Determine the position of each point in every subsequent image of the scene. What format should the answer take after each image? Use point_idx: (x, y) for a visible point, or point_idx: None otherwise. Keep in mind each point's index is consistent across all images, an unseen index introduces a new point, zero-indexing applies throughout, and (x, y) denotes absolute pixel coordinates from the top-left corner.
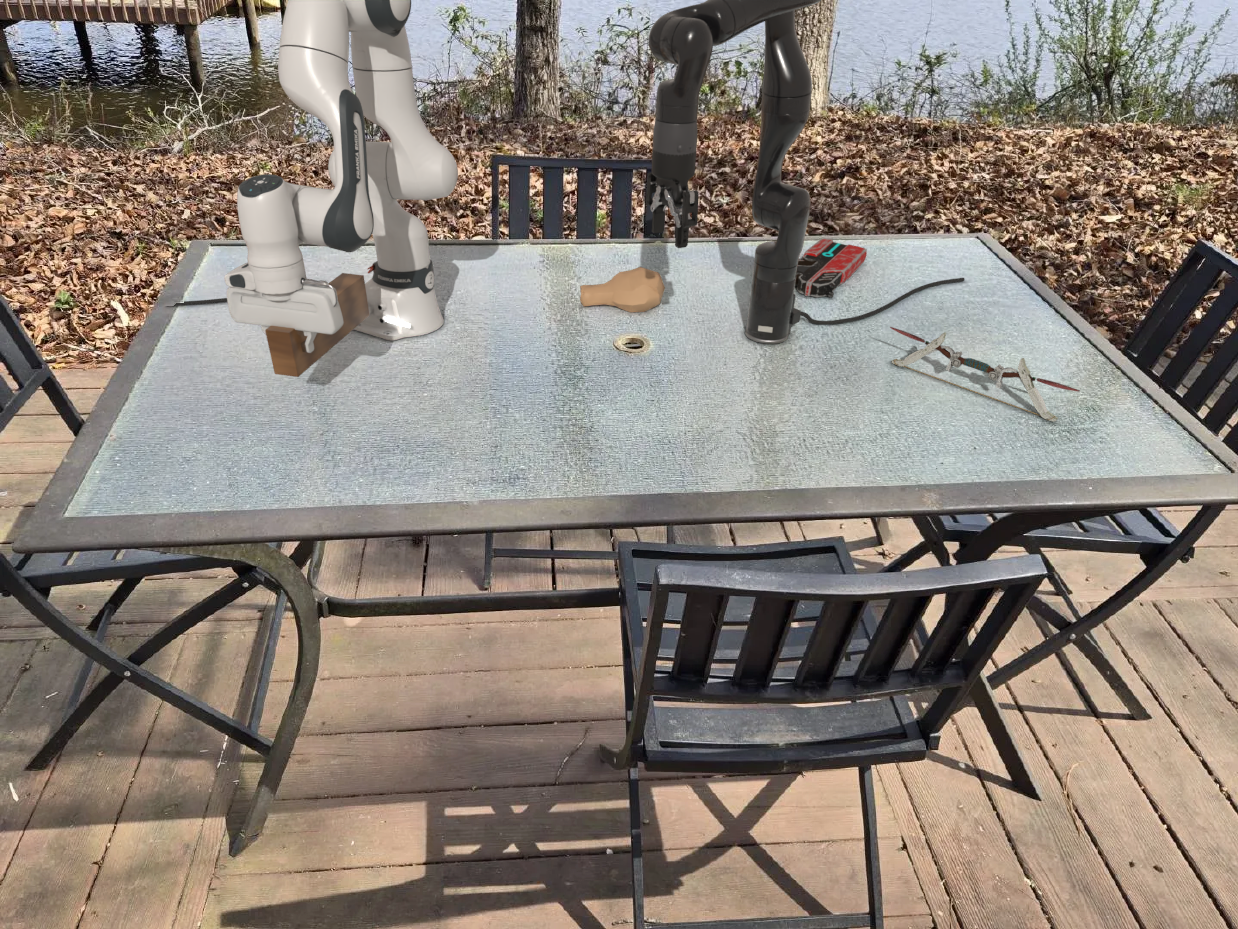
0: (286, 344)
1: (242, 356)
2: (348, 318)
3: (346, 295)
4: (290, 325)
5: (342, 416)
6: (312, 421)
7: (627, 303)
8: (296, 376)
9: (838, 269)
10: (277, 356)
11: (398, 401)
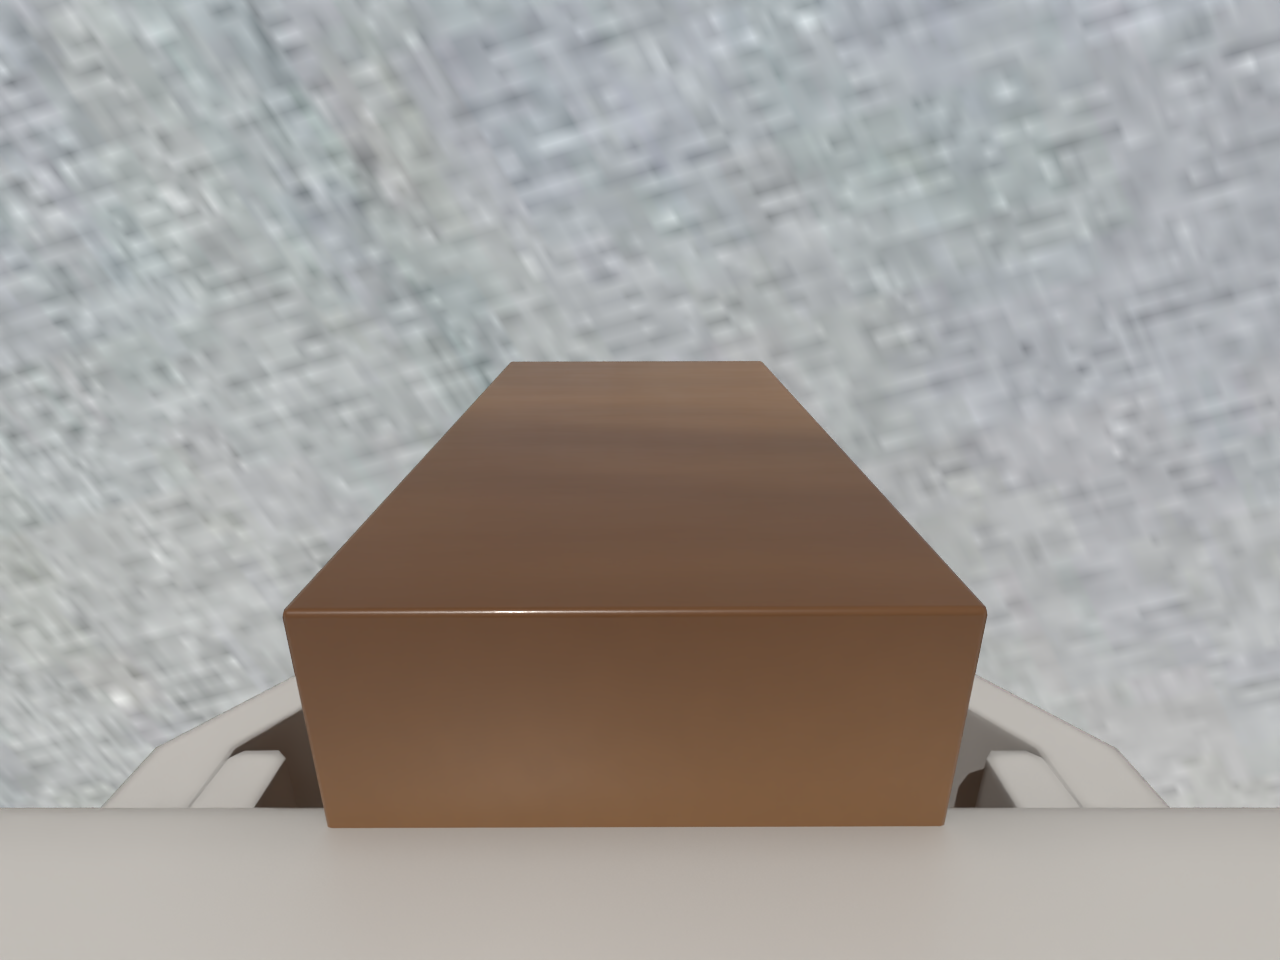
0: (499, 483)
1: (1215, 800)
2: None
3: None
4: (388, 883)
5: (380, 391)
6: (512, 291)
7: None
8: (527, 363)
9: None
10: (708, 410)
11: (199, 609)
